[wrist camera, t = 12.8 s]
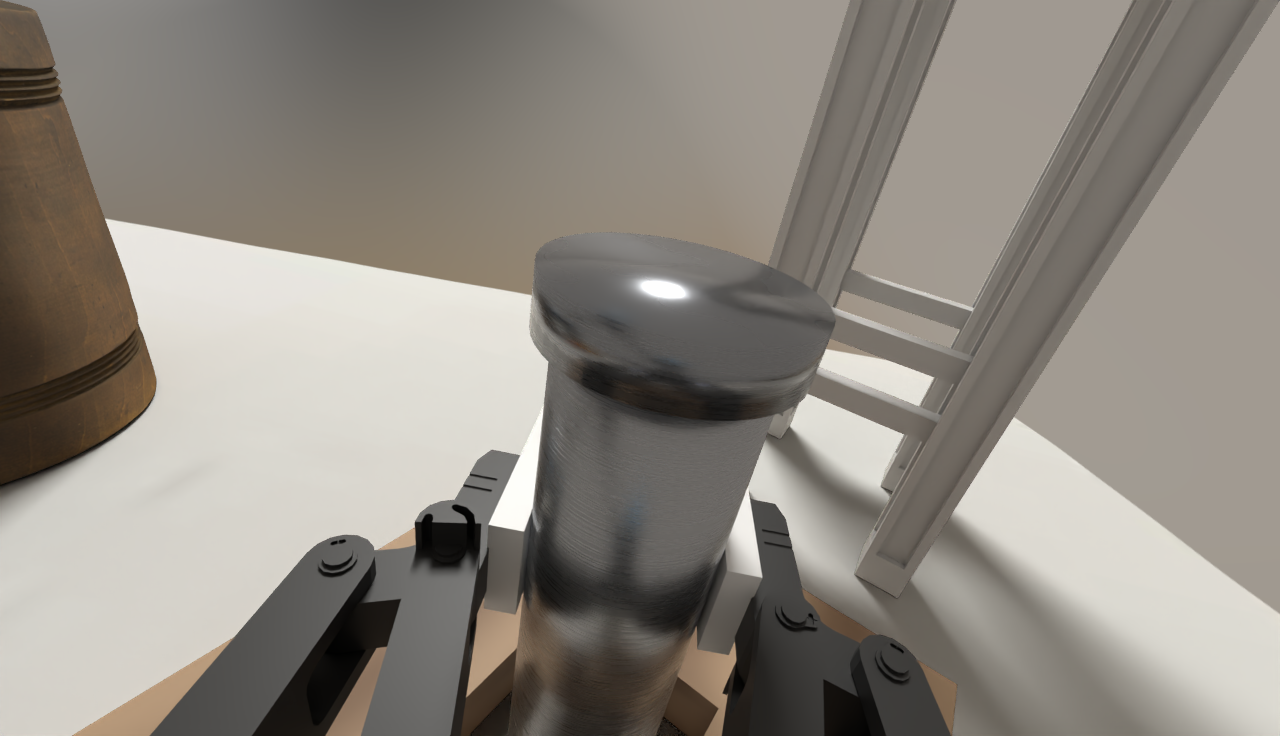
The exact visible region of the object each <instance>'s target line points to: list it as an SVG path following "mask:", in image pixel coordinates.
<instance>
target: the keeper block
mask: <svg viewBox="0 0 1280 736" xmlns="http://www.w3.org/2000/svg"><path fill="white" fill-rule="evenodd" d="M413 545H416V540H415V528H413V529H411V530H410V531H408V532H407V533H405V534H403V535H402V536H400V537H398V538H397V539H395V540H393V541H392V542H390V543H388V544H387V545H385V546H383V547H382V548H380V549H379V550H386V549H399V548H405V547H410V546H413ZM802 591H803V595H804V598H805V599H806V600H807V601H808V602H809V603H810V604H811V605H812V606H813V607H814V608H815V610H816V612H817V613H818V615H819V616H820V620H821V622H823V623H824V624H825V625H826V626H828V627H829V628H831V629H833V630H835V631H836V632H838V633H840V634H842V635H844V636H847V637H849V638H851V639H853V640H855V641H857V642H859V643H861V641H862V640H863V639H864V638H866V637H867V636H869V635H876V634H875V633H873V632H872V631H870V630H868V629H867V628H865V627H863V626H862V625H860V624H859V623H857V622H855V621H854V620H852V619H851V618H849V617H847V616H846V615H844V614H842V613H841V612H839V611H838V610H836V609H834V608H833V607H831V606H830V605H828V604H826V603H825V602H823V601H821V600H820V599H818V598H817V597H815V596H813V595H812V594H810V593H809V592H807V591H805V590H804V589H802ZM522 599H523V593H522V596H521V600H520V603H519V606H518V609H517V612H516V615H515V614H509V613H504V612H499V611H494V610H488V609H484V598H483V601H482V603H481V606H480V608H479V611H478V613H477V627H476V634H475V641H474V647H473V654H472V661H471V668H470V675H469V682H468V689H467V695H466V702H465V709H464V716H463V723H462V730H461V736H469V735H470V734H471V733H472V732H473V731H474V730H475V729H476V727H477V726H478V725H479V724H480V723H481V722H482V721H483V720H484V719H485V718H486V717H487V716H488V715H489V714H490V713H491V712H492V711H493V710H494V709H495V708H496V706H497V705H498V704H499V703H500V702H501V701H502V700H503V699H504V698H505V697H506V696H507V695H508V694H509V693H510V692H511V691H512V690H513V681H514V672H515V663H516V654H517V645H518V636H519V627H520V617H521V608H522ZM232 639H233V638H232ZM232 639H230V640H229V641H227V642H225V643H224V644H222V645H220V646H219V647H217V648H216V649H214V650H212V651H211V652H209V653H207V654H206V655H204V656H202V657H201V658H199V659H197V660H196V661H194V662H192V663H191V664H189V665H188V666H186V667H184V668H183V669H181V670H179V671H178V672H176V673H174V674H173V675H171V676H169V677H168V678H166V679H164V680H163V681H161V682H160V683H158V684H156V685H155V686H153V687H151V688H150V689H148V690H146V691H145V692H143V693H141V694H140V695H138V696H137V697H135V698H133V699H132V700H130V701H128V702H127V703H125V704H123V705H122V706H120V707H118V708H117V709H115V710H113V711H112V712H110V713H109V714H107V715H105V716H104V717H102V718H100V719H99V720H97V721H95V722H94V723H92V724H90V725H89V726H87V727H85V728H84V729H82V730H81V731H79V732H77V733H76V734H74V735H72V736H150V735H151V733H152V732H153V731H154V730H155V729H156V728H157V726H158V725H159V724H160V723H161V722H162V721H163V719H164V718H165V717H166V716H167V715H168V714H169V713H170V711H171V710H172V709H173V708H174V707H175V706H176V704H177V703H178V702H179V701H180V700H181V699H182V697H183V696H184V695H185V694H186V693H187V692H188V690H189V689H190V688H191V687H192V686H193V685H194V683H195V682H196V681H197V680H198V679H199V678H200V677H201V675H202V674H203V673H204V672H205V671H206V670H207V668H208V667H209V666H210V665H211V664H212V663H213V661H214V660H215V659H216V658H217V657H218V656H219V654H220V653H221V652H222V651H223V650H224V649H225V647H226V646H227V645H228V644H229V643H230V642H231V640H232ZM386 649H387V647H381V648H376V650H375V652H374V653H373V655H372V657H371V659H370V660H369V662H368V664H367V665H366V667H365V669H364V671H363V672H362V674H361V676H360V677H359V679H358V681H357V683H356V684H355V686H354V688H353V689H352V691H351V693H350V695H349V696H348V698H347V700H346V701H345V703H344V705H343V707H342V708H341V710H340V712H339V713H338V715H337V717H336V718H335V720H334V722H333V724H332V725H331V727H330V729H329V730H328V732H327V734H326V736H361V733H362V730H363V727H364V723H365V720H366V716H367V713H368V710H369V706H370V703H371V700H372V696H373V693H374V689H375V686H376V683H377V679H378V676H379V673H380V669H381V666H382V662H383V659H384V656H385V652H386ZM917 661H918V660H917ZM735 663H736V649H735V642H734V644H733V647H732V649H731V651H730V653H729V655H724V654H719V653H714V652H708V651H703V650H698V649H697V626H696V629H695V631H694V634H693V637H692V639H691V642H690V645H689V647H688V650H687V653H686V656H685V658H684V661H683V664H682V666H681V669H680V672H679V675H678V677H677V680H676V683H675V685H674V688H673V691H672V694H671V696H670V699H669V702H668V704H667V707H666V710H665V713H664V715H663V716H664V717H665V718H666V719H667V720H668V721H670V722H671V723H672V724H673V725H674V726H676V727H677V728H678V729H679V730H680V731H682V732H683V733H684V734H685V735H686V736H722V730H723V723H724V716H725V710H726V703H727V696H728V694H727V695H725V694H723V690H724V687H725V685H726V683H727V680H728V678H729V676H730V674H731V672H732V669H733V667H734V665H735ZM918 663H919V664H920V666H921V668H922V669H923V671H924V674H925V676H926V678H927V681H928V683H929V685H930V688H931V690H932V692H933V695H934V697H935V699H936V702H937V704H938V706H939V709H940V711H941V713H942V715H943V718H944V720H945V722H946V725H947V727H948V729H949V732H950V734H951V736H952V730H953V721H954V711H955V702H956V692H957V684H955V683H954V682H952V681H951V680H949V679H947V678H946V677H944V676H943V675H941V674H939V673H938V672H936V671H934V670H933V669H931V668H930V667H928V666H926V665H925V664H923V663H922V662H920V661H918Z"/></svg>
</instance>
